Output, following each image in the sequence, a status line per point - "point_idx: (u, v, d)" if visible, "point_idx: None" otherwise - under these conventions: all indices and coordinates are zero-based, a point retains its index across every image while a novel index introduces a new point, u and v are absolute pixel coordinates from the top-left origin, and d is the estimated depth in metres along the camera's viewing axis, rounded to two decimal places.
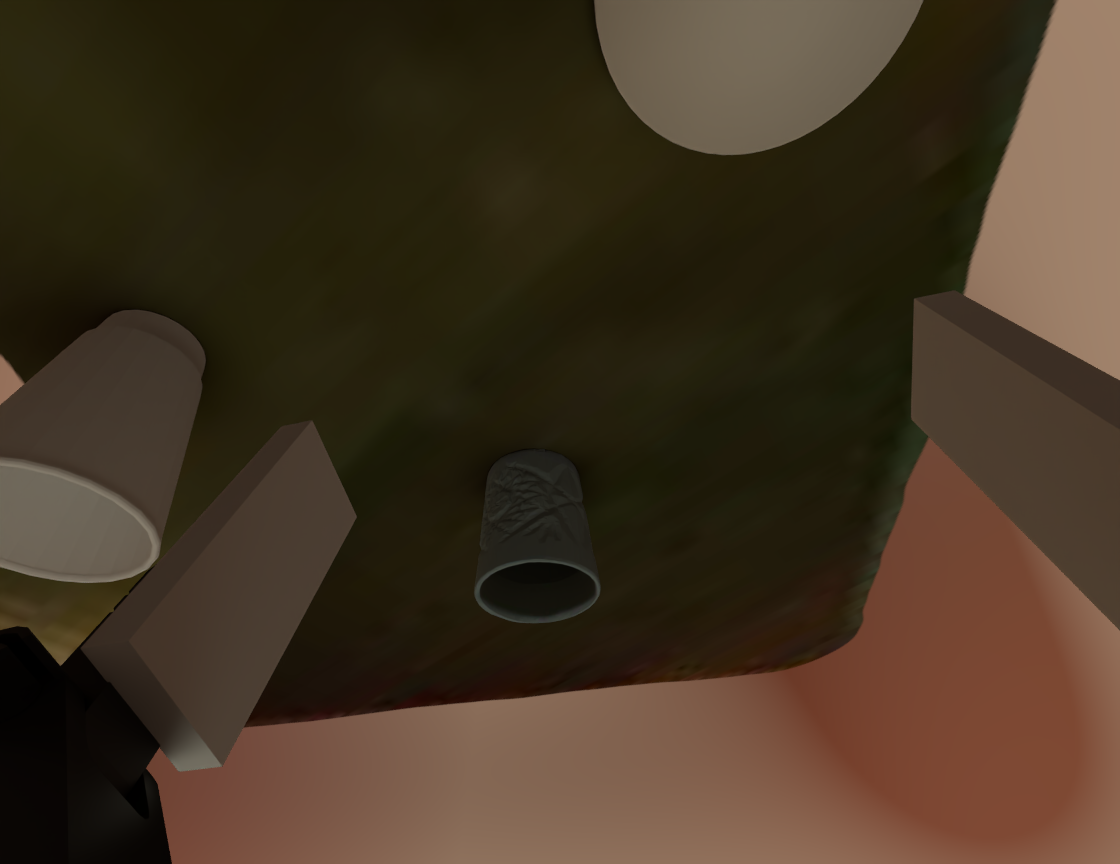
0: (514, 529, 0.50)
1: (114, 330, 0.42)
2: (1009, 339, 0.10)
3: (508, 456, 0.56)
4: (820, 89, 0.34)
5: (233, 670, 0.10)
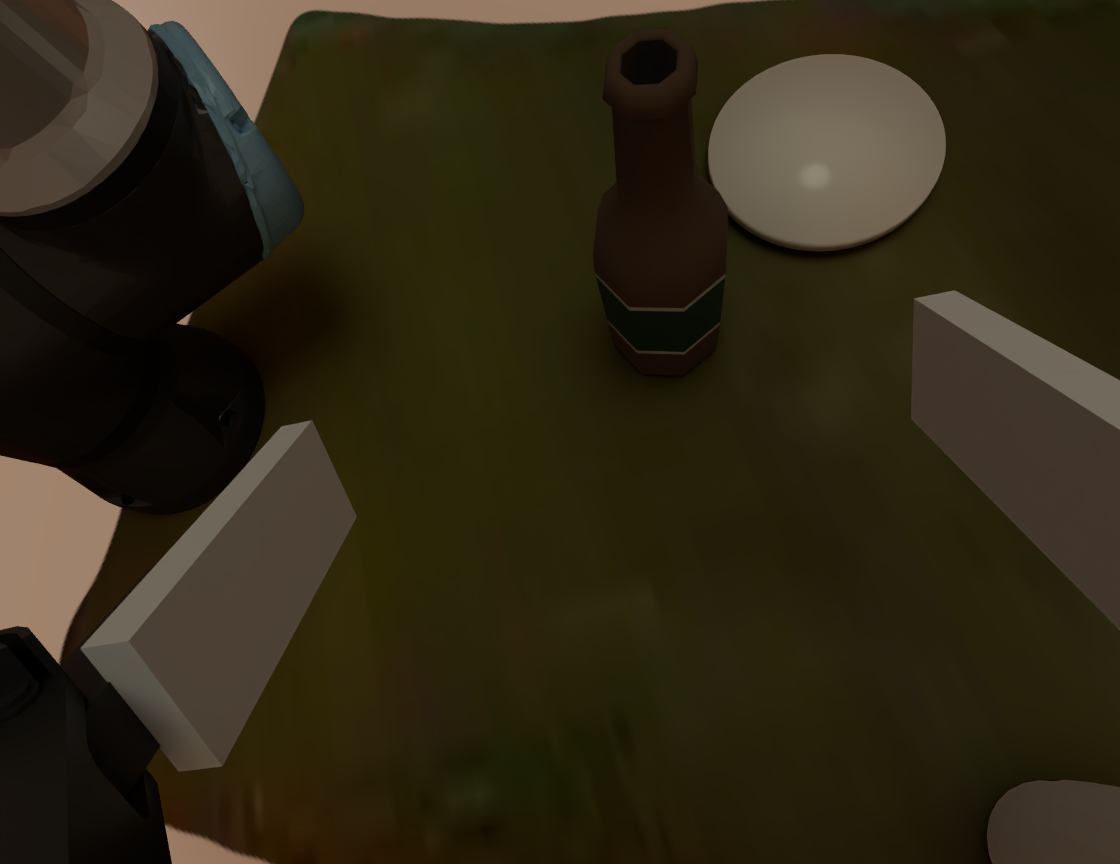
0: None
1: (1004, 827, 0.32)
2: (1009, 339, 0.10)
3: None
4: (904, 107, 0.45)
5: (233, 670, 0.10)
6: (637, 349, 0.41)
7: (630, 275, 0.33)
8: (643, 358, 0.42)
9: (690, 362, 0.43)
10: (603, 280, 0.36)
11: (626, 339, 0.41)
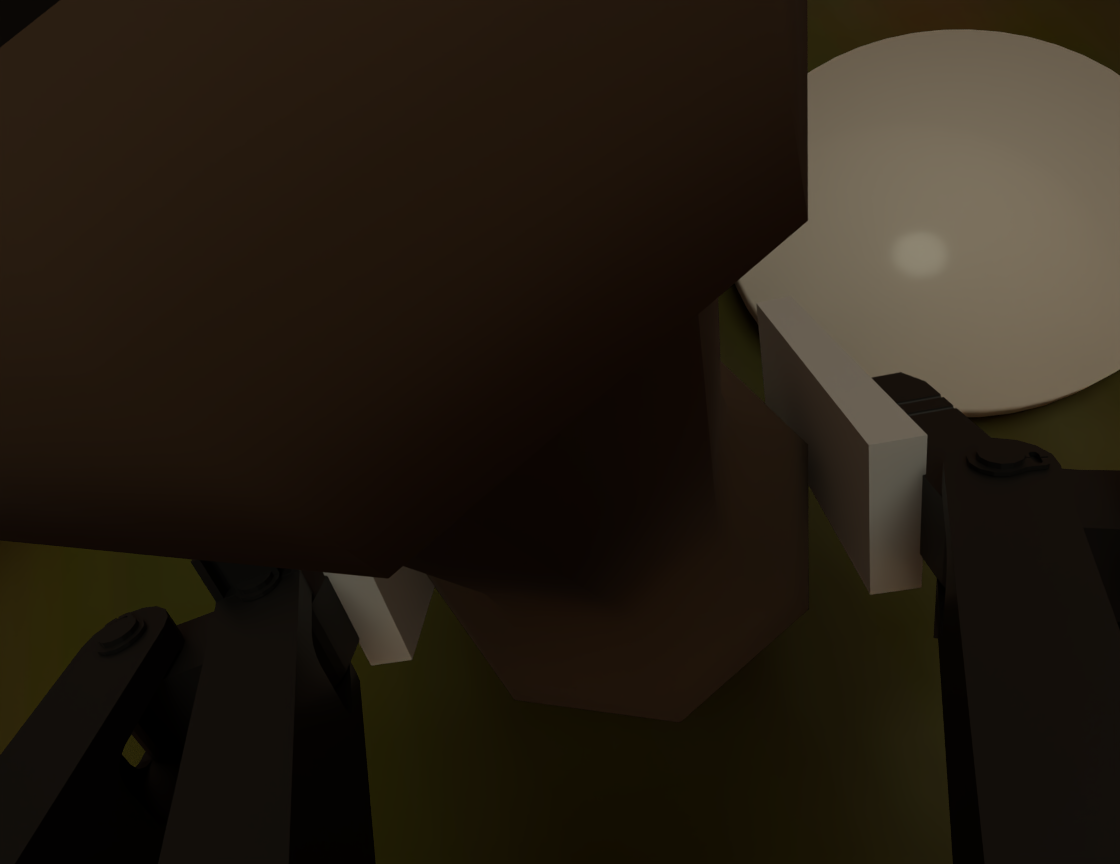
0: None
1: None
2: (807, 338, 0.12)
3: None
4: (1110, 128, 0.23)
5: (411, 578, 0.11)
6: None
7: (514, 689, 0.10)
8: None
9: None
10: None
11: None
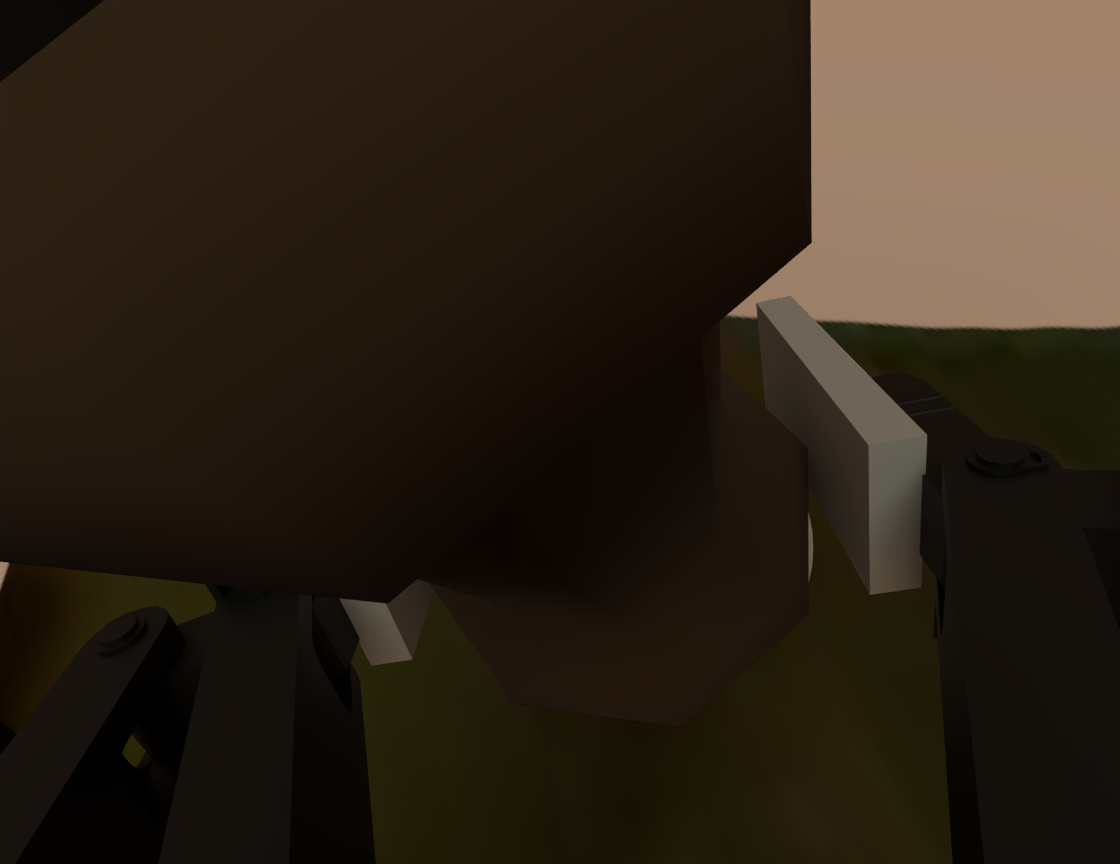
0: None
1: None
2: (807, 338, 0.12)
3: None
4: None
5: None
6: None
7: (514, 693, 0.10)
8: None
9: None
10: None
11: None
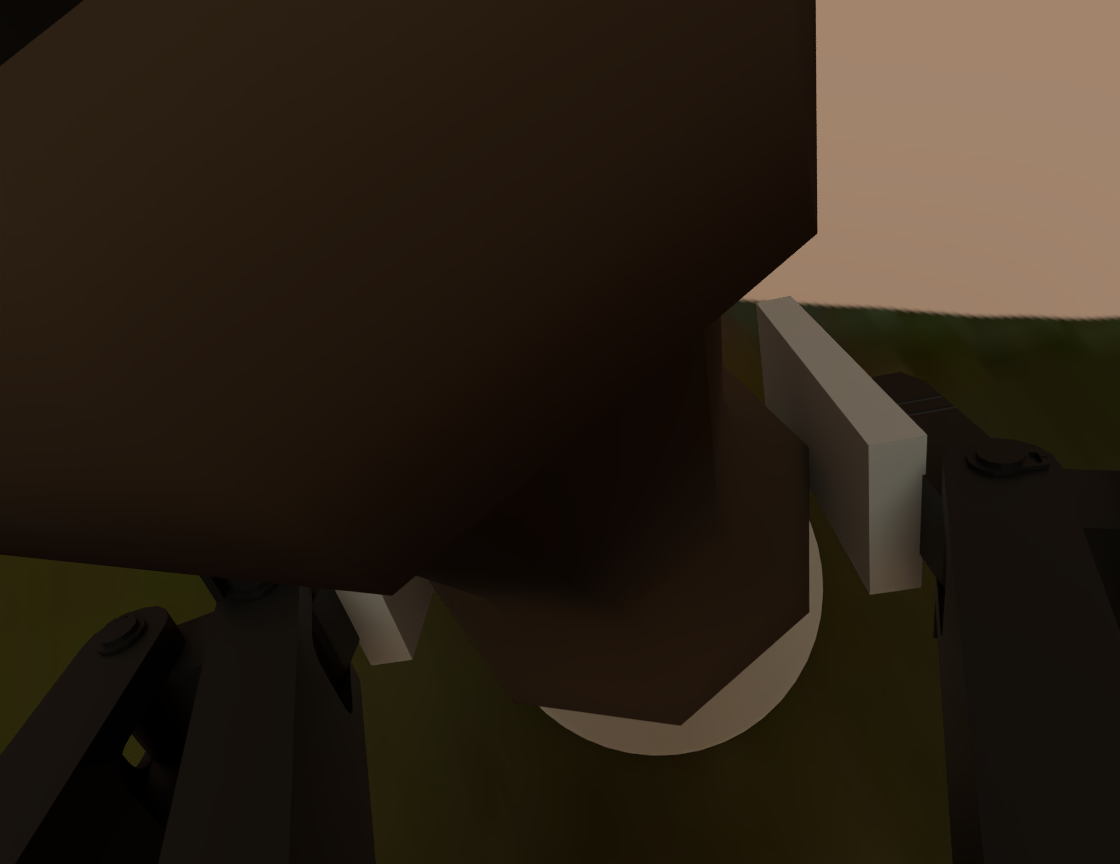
0: None
1: None
2: (807, 338, 0.12)
3: None
4: None
5: None
6: None
7: (514, 692, 0.10)
8: None
9: None
10: None
11: None
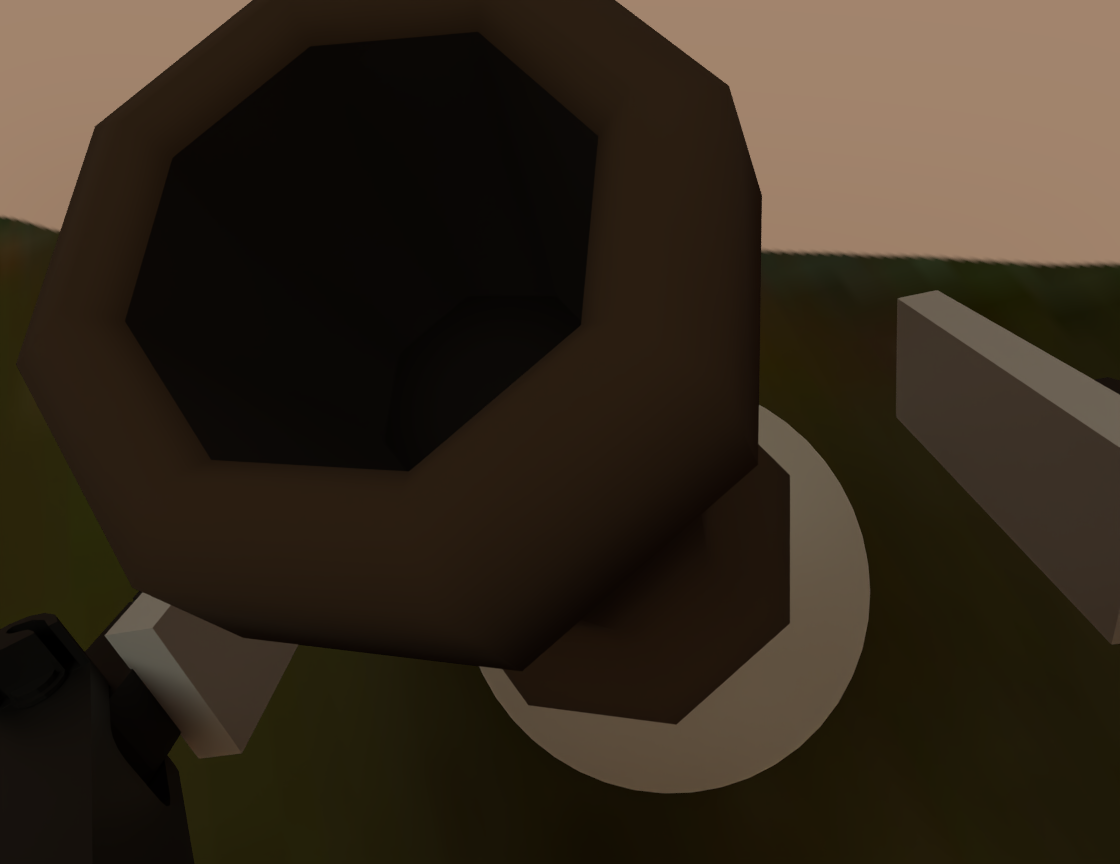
0: None
1: None
2: (987, 338, 0.10)
3: None
4: (798, 504, 0.25)
5: (251, 659, 0.11)
6: None
7: (529, 696, 0.12)
8: None
9: None
10: None
11: None
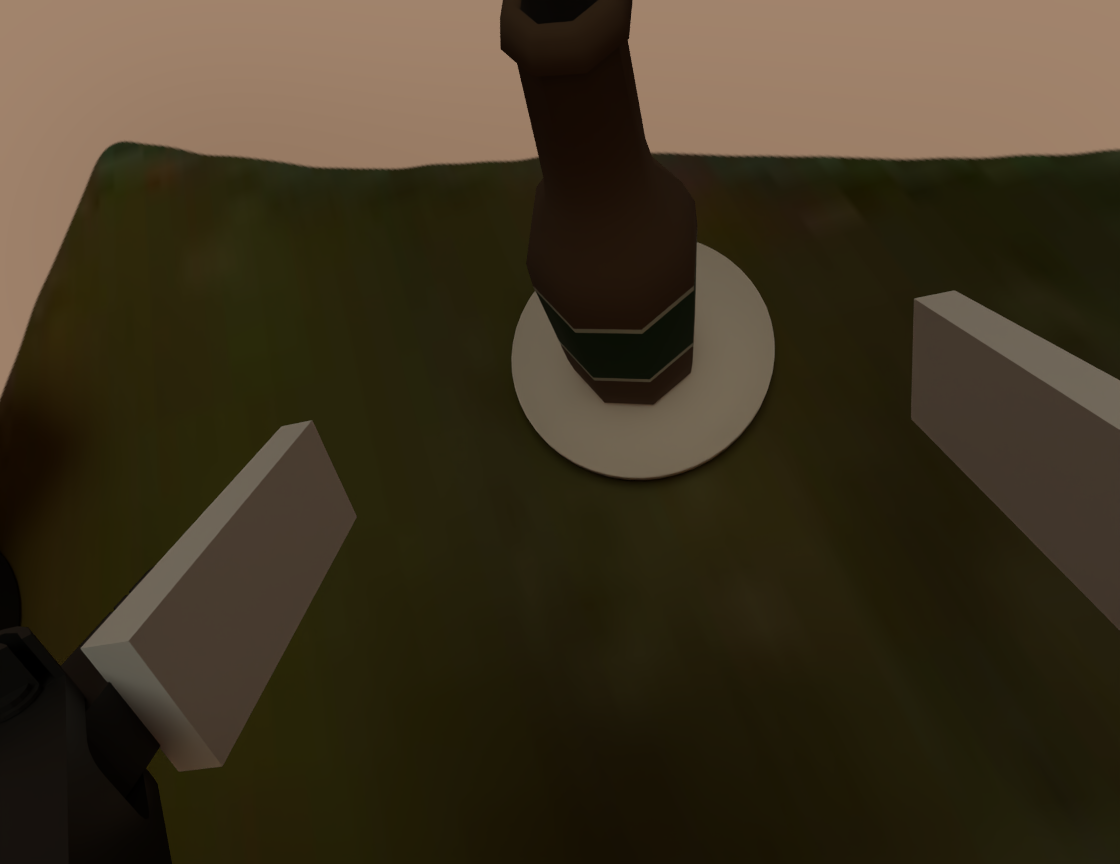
0: None
1: None
2: (1009, 339, 0.10)
3: None
4: (731, 306, 0.39)
5: (233, 670, 0.10)
6: (593, 376, 0.34)
7: (569, 290, 0.26)
8: (602, 386, 0.35)
9: (660, 389, 0.36)
10: (542, 295, 0.29)
11: (580, 363, 0.34)
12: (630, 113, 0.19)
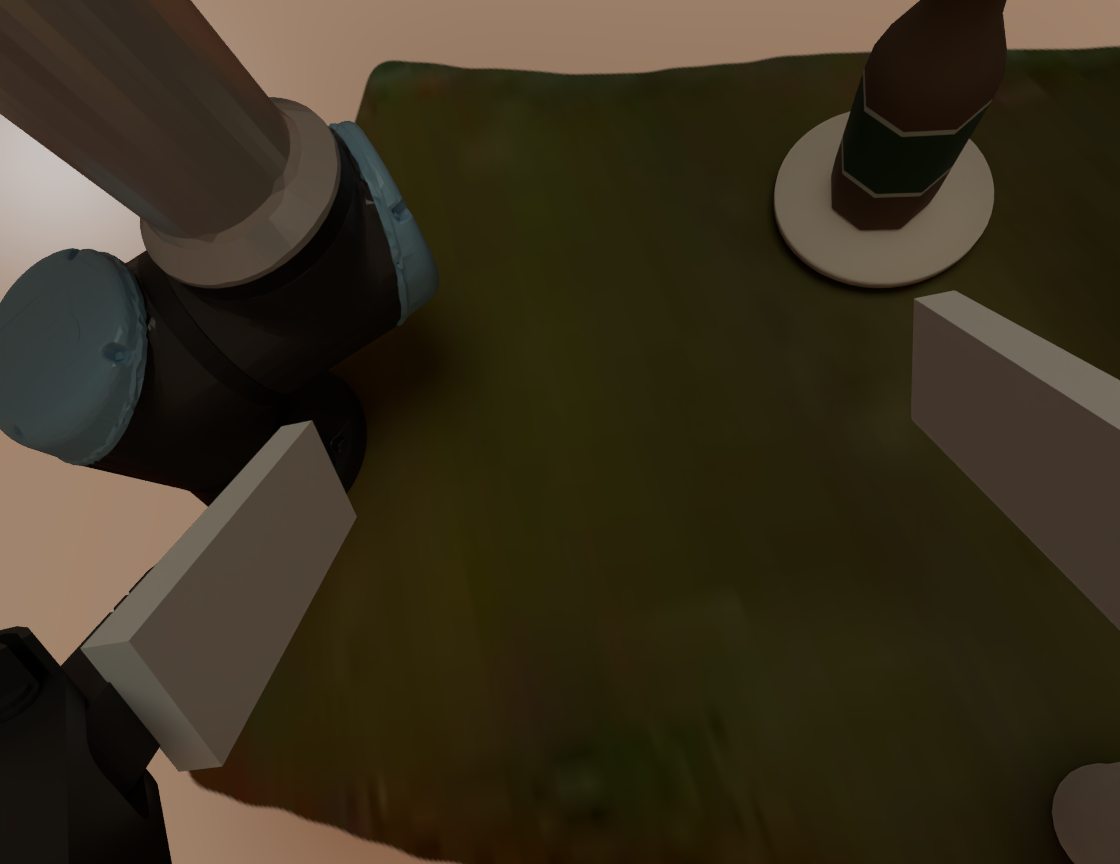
0: None
1: (1072, 803, 0.37)
2: (1009, 339, 0.10)
3: None
4: None
5: (233, 670, 0.10)
6: (877, 192, 0.45)
7: (923, 92, 0.37)
8: (875, 205, 0.46)
9: (914, 210, 0.47)
10: (875, 111, 0.40)
11: (864, 185, 0.46)
12: None
